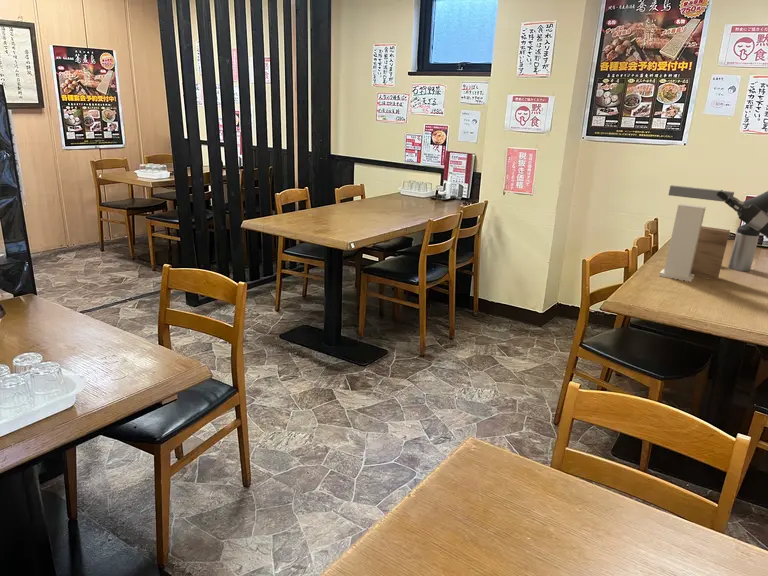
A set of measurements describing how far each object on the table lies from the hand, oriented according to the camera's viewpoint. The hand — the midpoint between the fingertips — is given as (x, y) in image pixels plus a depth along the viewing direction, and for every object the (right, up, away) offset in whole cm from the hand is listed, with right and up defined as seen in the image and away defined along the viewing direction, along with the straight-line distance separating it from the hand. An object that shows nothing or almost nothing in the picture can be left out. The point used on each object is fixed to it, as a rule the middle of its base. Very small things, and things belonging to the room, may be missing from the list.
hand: (718, 192), depth 237 cm
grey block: (-6, -2, +5) cm, 7 cm away
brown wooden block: (+2, -34, +22) cm, 41 cm away
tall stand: (-9, -35, +17) cm, 40 cm away
